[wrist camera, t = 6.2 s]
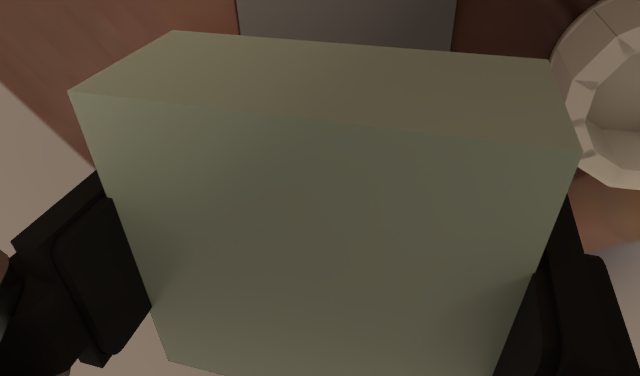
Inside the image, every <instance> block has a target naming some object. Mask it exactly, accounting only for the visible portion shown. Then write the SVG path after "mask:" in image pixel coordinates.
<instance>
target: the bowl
mask: <svg viewBox="0 0 640 376" xmlns="http://www.w3.org/2000/svg"><path fill="white" fill-rule="evenodd" d="M549 64H550V66H551V69H552V71H553V74H554V77H555V79H556V82H557V84H558V87H559V90H560V92H561V95H562V97H563V100H564V103H565V105H566V108H567V110H568V113H569V116H570V118H571V121H572V123H573V126H574V129H575V131H576V134H577V136H578V139H579V142H580V144H581V147H582V149H583V154H582V157H581V159H580V162H579V164H578V167H579V168H580V169H582V170H583V171H585V172H587V173H588V174H590V175H591V176H593V177H594V178H596V179H597V180H599V181H600V182H602V183H604V184H605V185H607V186H609V187H615V188H624V189H634V190H640V0H600V1H598V2H597V3H595V4H593V5H592V6H590V7H589V8H588V9H587V10H585V11H584V12H583V13H582V14H580V15H579V16H578V17H577V18H576V19H575V20H574V21H573V22H572V23H571V24H570V25H569V26H568V28H567V29H566V30H565V31H564V33H563V34H562V35H561V37H560V38H559V40H558V41H557V43H556V45H555V47H554V49H553V51H552V53H551V56H550V59H549Z"/></svg>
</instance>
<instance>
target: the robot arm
mask: <svg viewBox="0 0 640 376" xmlns="http://www.w3.org/2000/svg"><path fill="white" fill-rule="evenodd" d="M11 243H12V245H13V246H14V249H15V250H16V253H15V254H14V255H13V256H12V257H10V258H9V257H8V256H7V254H5V253H4V252H3V251H1V250H0V376H69V375H70V368H71V366H72V365H73V364H74V362H75V361H76V359H78V358H79V360H80V362H82V363H86V364H89V365H93V366H97V367H100V368H103V367H104V366H105V364H106V363H107V362H108V360H109V359H110V357H111V356H112V355H115V354H118V353H119V352H120V351H121V350H122V349H123V348H124V346H125V345H126V344H127V342H128V341H129V339H130V338H131V337H132V335H133V334H134V332H135V331H136V329H137V328H138V327H139V325H140V324H141V322H142V321H143V320H144V318H145V317H146V315H147V314H148V313H149V311H150V310H151V308H152V305H151V302H150V299H149V297H148V294H147V291H146V288H145V286H144V283H143V280H142V278H141V275H140V272H139V269H138V267H137V264H136V261H135V258H134V256H133V253H132V250H131V248H130V245H129V242H128V239H127V237H126V234H125V231H124V229H123V226H122V223H121V220H120V218H119V215H118V212H117V210H116V207H115V204H114V201H113V199H112V198H108V197H107V196H106V193H105V191H104V188H103V185H102V183H101V180H100V177H99V175H98V172H97V170H95V171H94V172H93V173H92V174H91V175H90V176H88V177H87V178H86V179H85V180H83V181H82V182H81V183H80V184H79V185H78V186H76V187H75V188H74V189H73V190H72V191H70V192H69V193H68V194H67V195H65V196H64V197H63V198H62V199H61V200H59V201H58V202H57V203H56V204H55V205H53V206H52V207H51V208H50V209H49V210H47V211H46V212H45V213H44V214H43V215H41V216H40V217H39V218H38V219H37V220H35V221H34V222H33V223H32V224H31V225H29V226H28V227H27V228H26V229H25V230H23V231H22V232H21V233H20V234H19V235H17V236H16V237H15V238H14V239H13V240H11ZM492 376H640V368H639V365H638V362H637V359H636V356H635V353H634V350H633V347H632V344H631V341H630V337H629V334H628V331H627V328H626V325H625V322H624V319H623V316H622V314H621V310H620V307H619V304H618V301H617V298H616V295H615V292H614V289H613V286H612V283H611V280H610V277H609V274H608V271H607V268H606V265H605V263H604V261H603V260H602V259H601V258H600V257H599V256H594V255H588V254H584V250H583V247H582V243H581V240H580V236H579V233H578V230H577V226H576V223H575V219H574V216H573V212H572V209H571V205H570V202H569V198H568V195H567V194H566V197H565V199H564V202H563V204H562V207H561V209H560V212H559V214H558V217H557V219H556V222H555V224H554V227H553V229H552V232H551V234H550V237H549V239H548V242H547V244H546V247H545V249H544V252H543V254H542V257H541V259H540V262H539V264H538V267H537V269H536V272H535V273H533V274H532V277H531V279H530V282H529V284H528V287H527V289H526V292H525V294H524V297H523V299H522V302H521V304H520V307H519V309H518V312H517V315H516V317H515V320H514V322H513V325H512V327H511V330H510V332H509V335H508V337H507V340H506V342H505V345H504V347H503V350H502V352H501V355H500V357H499V360H498V362H497V365H496V367H495V370H494V372H493V375H492Z"/></svg>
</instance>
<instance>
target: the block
mask: <svg viewBox="0 0 640 376" xmlns="http://www.w3.org/2000/svg"><path fill="white" fill-rule="evenodd" d="M67 92H68V95H69V98H70V100H71V103H72V106H73V108H74V111H75V114H76V116H77V119H78V122H79V124H80V127H81V129H82V132H83V135H84V137H85V140H86V143H87V145H88V148H89V151H90V153H91V156H92V159H93V161H94V164H95V167H96V169H97V172H98V175H99V177H100V180H101V183H102V185H103V188H104V191H105V193H106V196H107V197H108V198H112V199H113V201H114V204H115V207H116V210H117V212H118V215H119V218H120V220H121V223H122V226H123V229H124V231H125V234H126V237H127V239H128V242H129V245H130V248H131V250H132V253H133V256H134V258H135V261H136V264H137V267H138V269H139V272H140V275H141V278H142V280H143V283H144V286H145V288H146V291H147V294H148V297H149V299H150V302H151V305H152V308H151V310H150V313H151V316H152V318H153V321H154V324H155V326H156V329H157V332H158V334H159V337H160V340H161V342H162V345H163V348H164V350H165V353H166V356H167V358H168V361H171V362H175V363H179V364H183V365H187V366H190V367H194V368H198V369H202V370H206V371H209V372H214V373H217V374H221V375H225V376H492V375H493V372H494V370H495V367H496V365H497V362H498V360H499V357H500V355H501V352H502V350H503V347H504V345H505V342H506V340H507V337H508V335H509V332H510V330H511V327H512V325H513V322H514V320H515V317H516V315H517V312H518V309H519V307H520V304H521V302H522V299H523V297H524V294H525V292H526V289H527V287H528V284H529V282H530V279H531V277H532V274H533V273H535V272H536V269H537V267H538V264H539V262H540V259H541V257H542V254H543V252H544V249H545V247H546V244H547V242H548V239H549V237H550V234H551V232H552V229H553V227H554V224H555V222H556V219H557V217H558V214H559V212H560V209H561V207H562V204H563V202H564V199H565V197H566V194H567V192H568V189H569V187H570V184H571V182H572V179H573V177H574V174H575V172H576V169H577V167H578V164H579V162H580V159H581V157H582V154H583V149H582V147H581V144H580V142H579V139H578V136H577V134H576V131H575V129H574V126H573V123H572V121H571V118H570V116H569V113H568V110H567V108H566V105H565V103H564V100H563V97H562V95H561V92H560V90H559V87H558V84H557V82H556V79H555V77H554V74H553V71H552V69H551V66H550V64H549V61H548V59H537V58H524V57H511V56H498V55H485V54H472V53H460V52H447V51H434V50H421V49H408V48H395V47H382V46H370V45H357V44H344V43H331V42H318V41H305V40H292V39H280V38H267V37H254V36H241V35H228V34H215V33H202V32H190V31H177V30H172V31H170V32H168V33H167V34H165V35H163V36H161V37H160V38H158V39H156V40H154V41H153V42H151V43H149V44H147V45H146V46H144V47H142V48H141V49H139V50H137V51H135V52H134V53H132V54H130V55H128V56H127V57H125V58H123V59H121V60H120V61H118V62H116V63H114V64H113V65H111V66H109V67H107V68H106V69H104V70H102V71H101V72H99V73H97V74H95V75H94V76H92V77H90V78H88V79H87V80H85V81H83V82H81V83H80V84H78V85H76V86H74V87H73V88H71V89H69V90H67Z"/></svg>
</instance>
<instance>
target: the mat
mask: <svg viewBox="0 0 640 376" xmlns="http://www.w3.org/2000/svg"><path fill="white" fill-rule="evenodd" d="M236 4H237V11H238V19H239V26H240V33H241V36H254V37H267V38H280V39H292V40H305V41H318V42H331V43H344V44H357V45H370V46H382V47H395V48H408V49H421V50H434V51H447V52H450V48H451V40H452V33H453V26H454V18H455V11H456V4H457V0H236Z"/></svg>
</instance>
